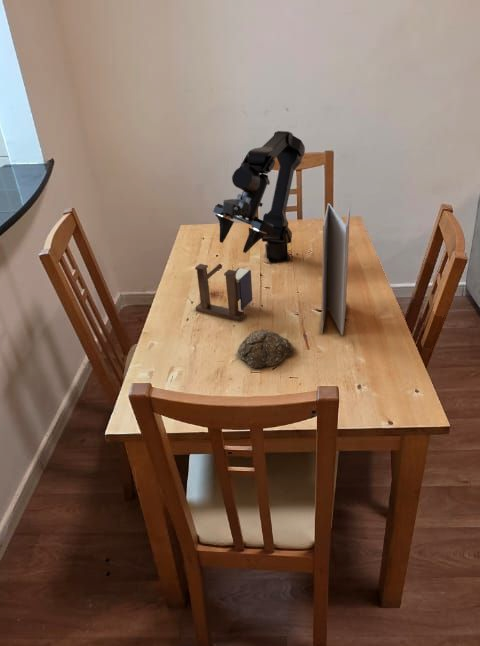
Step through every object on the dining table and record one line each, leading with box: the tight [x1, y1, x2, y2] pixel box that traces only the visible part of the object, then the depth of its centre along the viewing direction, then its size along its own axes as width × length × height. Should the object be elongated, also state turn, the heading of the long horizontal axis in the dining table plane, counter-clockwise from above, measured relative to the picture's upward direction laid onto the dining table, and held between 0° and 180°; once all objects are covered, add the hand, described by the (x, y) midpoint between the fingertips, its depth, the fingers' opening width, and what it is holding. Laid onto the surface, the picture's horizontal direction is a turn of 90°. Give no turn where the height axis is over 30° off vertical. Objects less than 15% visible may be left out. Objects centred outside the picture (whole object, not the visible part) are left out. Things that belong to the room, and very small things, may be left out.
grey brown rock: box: [237, 328, 293, 369], centre depth 136 cm, size 13×12×5 cm
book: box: [235, 267, 253, 311], centre depth 153 cm, size 6×4×10 cm, turn 152°
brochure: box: [320, 202, 351, 336], centre depth 141 cm, size 14×6×30 cm, turn 168°
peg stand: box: [194, 263, 249, 322], centre depth 154 cm, size 11×14×14 cm
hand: (232, 247), depth 158 cm, fingers open, 9 cm apart
